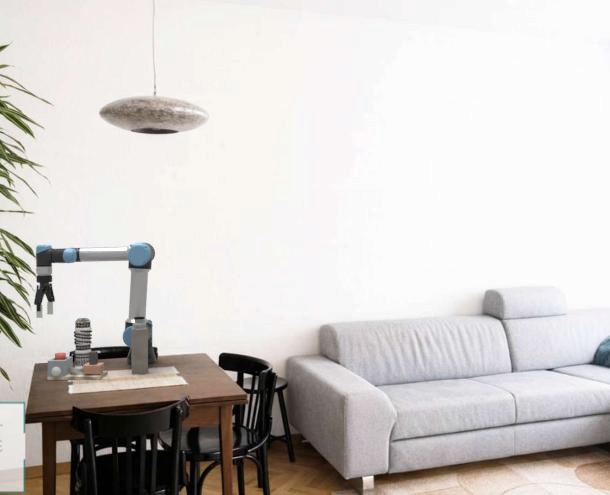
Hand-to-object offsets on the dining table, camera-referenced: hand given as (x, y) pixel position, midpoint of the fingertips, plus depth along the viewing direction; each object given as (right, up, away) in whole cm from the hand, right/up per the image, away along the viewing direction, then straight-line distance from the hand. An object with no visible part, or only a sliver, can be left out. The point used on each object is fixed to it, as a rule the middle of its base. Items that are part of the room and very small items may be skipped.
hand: (45, 316), depth 335 cm
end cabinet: (+16, -27, -21) cm, 38 cm away
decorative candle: (+18, -27, +6) cm, 33 cm away
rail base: (+24, -27, -21) cm, 42 cm away
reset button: (+16, -19, -21) cm, 32 cm away
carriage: (+32, -25, -21) cm, 46 cm away
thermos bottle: (+52, -27, -12) cm, 60 cm away
